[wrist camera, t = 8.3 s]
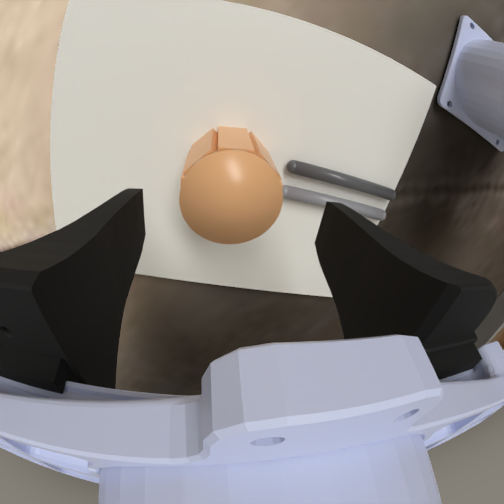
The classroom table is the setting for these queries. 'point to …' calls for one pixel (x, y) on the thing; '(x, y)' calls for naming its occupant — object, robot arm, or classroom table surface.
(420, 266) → the robot arm
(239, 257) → the plate
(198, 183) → the wire nut
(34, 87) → the classroom table surface
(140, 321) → the classroom table surface
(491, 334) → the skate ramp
